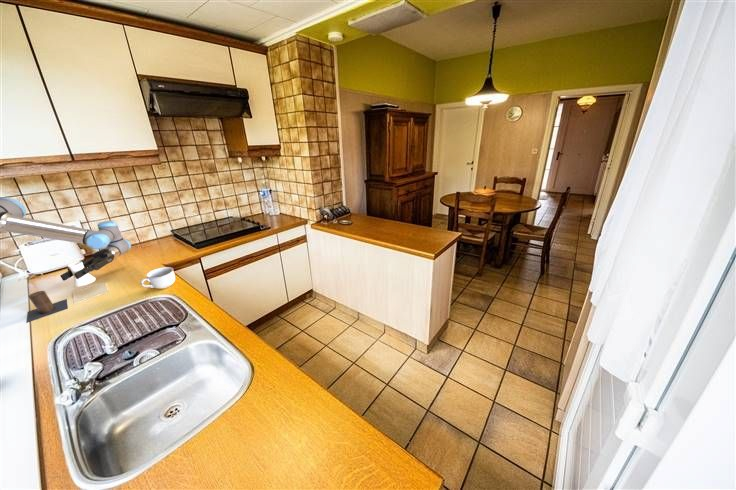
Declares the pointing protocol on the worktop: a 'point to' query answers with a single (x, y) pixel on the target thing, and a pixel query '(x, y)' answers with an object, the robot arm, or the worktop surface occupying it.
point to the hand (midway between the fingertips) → (69, 277)
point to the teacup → (160, 278)
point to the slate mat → (36, 315)
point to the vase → (84, 279)
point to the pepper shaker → (41, 302)
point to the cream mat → (89, 292)
